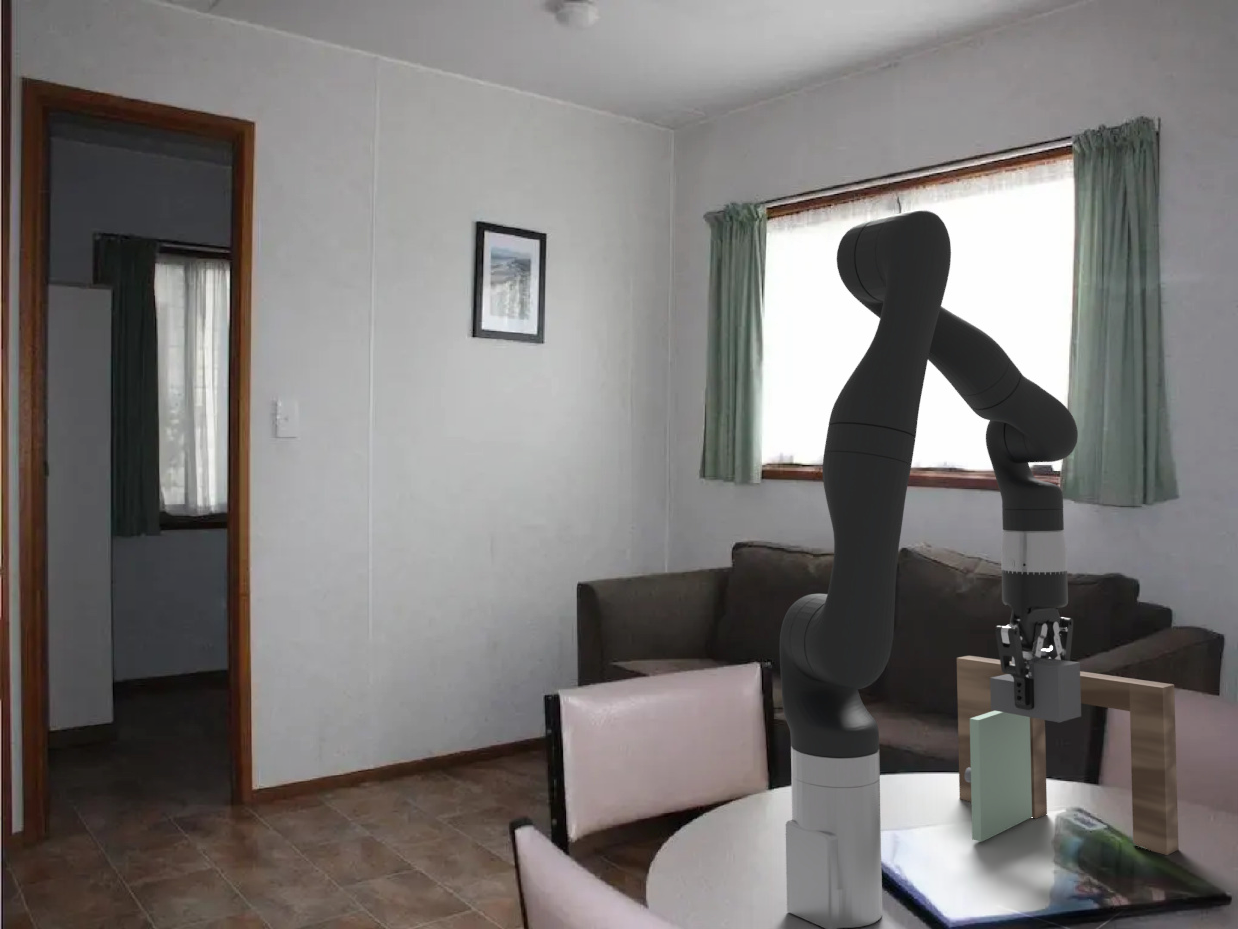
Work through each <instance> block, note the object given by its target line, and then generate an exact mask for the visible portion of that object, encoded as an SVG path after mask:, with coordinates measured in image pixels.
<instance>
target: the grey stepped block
mask: <svg viewBox="0 0 1238 929" xmlns="http://www.w3.org/2000/svg"><path fill="white" fill-rule="evenodd" d="M1026 663H1027V661H1024V664H1025V668H1026ZM1080 671H1081V663H1080V662H1079V661H1072V660H1070V661H1065V660H1058V659H1050V658H1047V657H1046V658H1042V659H1040V660H1039V661H1037V662H1036V664H1034V676H1033V678H1032V679H1034V708H1033V709H1031V710H1025V709H1019V708H1017V707H1016V706H1015V700H1014V678H1013V676H1011V675H1010V674H1005V675H1001V676H996V677H992V678H990V691H991V710H994V711H1000V712H1005V713H1010V714H1016V715H1021V716H1027V717H1032V718H1037V719H1043V720H1045V721H1050V722H1055V723H1063V722H1066V721H1069V720H1073V719H1076V718H1081V717H1082V703H1081V688H1080Z"/></svg>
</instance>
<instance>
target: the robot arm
mask: <svg viewBox="0 0 1238 929" xmlns="http://www.w3.org/2000/svg"><path fill="white" fill-rule="evenodd" d="M951 245H952V244H951V239H950V234H949V231H948V228H947V227H946V224H945V222H944V220H943V219H941V217H940V216H939V215H938V214H937V213H935V212H933V211H931V210H926V209H919V210H918V209H915V210H909V211H904V212H900V213H895V214H891V215H888V216H883V217H879V218H875V219H872V220H868V221H865V222H862V223H859V224H857V225H854V226H852V227H851V228H850V229H848V230H847V231H846V232H845V234H844V235H843V236H842V237H841V239H840V241H839V244H838V246H837V247H838V248H837V251H836V267H837V272H838V275H839V277H840V280H841V281H842V283H843V285H844V286H845V288H846V289H847V291H848V292H849V293H850V294H851V295H852V297H854V298H855V299H856V300H857V301H858V302H859V303H861V304H862V306H864V307H865V308H867V310H869V311H870V312H871V313H872V314H874V315H875V316H876V317H878V318H879V322H878V325H877V329H876V331H875V334H874V337H873V339H872V341H871V343H870V345H869V346H868V349H867V350H866V352H865V354H864V355H863V357H862V358H861V360H860V361H859V362H858V364H857V365H856V367H855V369H854V370H853V372H852V373H851V375H850V376H849V377H848V379H847V381H846V383H845V384H844V386H843V387H842V389H841V391H840V393H839V394H838V396H837V398H836V400H835V402H834V404H833V407H832V409H831V412H830V416H829V421H828V427H827V433H826V437H825V444H824V451H823V457H822V482H823V490H824V495H825V499H826V500H825V501H826V504H827V508H828V513H829V516H830V517H829V518H830V521H831V526H832V533H833V542H834V543H833V544H834V545H833V549H834V550H833V559H832V560H833V561H832V568H831V574H830V578H829V586H828V590H827V593H812V594H807V595H804V596H802V597H800V598H799V599H797V600H796V601H794V603H792V605H791V606H790V607H789V608H788V610H787V611H786V614H785V616H784V618H783V621H782V623H781V629H780V633H779V665H780V666H779V668H780V682H781V684H780V685H781V700H782V702H781V703H782V709H783V710H782V711H783V716H784V718H785V720H786V723H787V725H788V729H789V733H790V759H791V760H790V764H791V766H790V767H791V772H790V773H791V774H790V775H791V782H790V783H791V819H790V820H788V821H786V822H785V866H786V868H785V869H786V872H785V873H786V874H785V875H786V912H787V913H790V914H792V915H794V916H796V917H799V918H801V919H804V920H805V921H807V922H810V923H812V924H815V925H817V926H820V927H822V928H824V929H843V928H844V929H848V928H849V929H850V928H853V929H854V928H861V927H864V926H870V925H872V924H875V923H876V922H878V920H880V919H881V918H882V916H883V887H882V885H883V882H882V881H883V880H882V879H883V876H882V832H881V830H882V828H881V823H882V822H881V782H880V781H881V780H880V779H881V778H880V777H881V771H880V770H881V767H880V766H881V765H880V764H881V763H880V731H879V726H878V723H877V721H876V720H875V718H874V717H873V716H872V715H871V713H870V712H869V711H868V710H867V708H866V707H865V705H864V703H863V701H862V699H861V696H860V692H859V690H861V689H865V688H867V687H869V686H870V685H873V684H874V683H875V682H876V681H877V679H879V678H880V676H881V675H882V673H883V672H884V670H885V668H886V667H887V664H888V663H889V659H890V656H891V651H892V647H893V640H894V627H895V608H896V586H897V585H896V583H897V570H898V557H899V549H900V548H899V547H900V541H901V534H902V527H903V519H904V513H905V512H904V510H905V503H906V497H907V490H908V485H909V481H910V480H909V479H910V477H911V476H910V475H911V471H912V463H913V456H914V451H915V444H916V439H917V438H916V437H917V428H918V419H919V412H920V406H921V405H920V404H921V399H922V393H923V387H924V383H925V376H926V372H927V366H928V361H929V362H930V363H931V364H932V365H933V366H934V367H935V368H936V369H937V370H938V371H939V372H940V374H942V375H943V377H944V378H945V379H946V381H948V382H949V384H950V385H951V386H952V387H953V388H954V390H955V392H957V394H958V395H959V396H960V397H961V398H962V399H963V401H964V402H965V403H966V404H967V405H968V406H969V408H970V409H971V410H972V411H973V412H974V413H975V414H976V415H977V416H978V417H980V418H981V419H983V420H988V423H987V426H986V431H985V445H986V450H987V454H988V456H989V460H990V463H991V467H992V470H993V472H994V477H995V480H996V482H997V486H998V489H999V493H1000V496H1001V503H1002V504H1001V509H1002V510H1001V511H1002V512H1001V513H1002V518H1001V519H1002V537H1001V548H1000V549H1001V550H1000V558H1001V561H1000V562H1001V564H1000V566H1001V601H1002V603H1003V604H1004V605H1005V606H1008V607H1010V608H1011V615H1010V619H1009V624H1007V625H996V626H995V629H994V631H995V638H996V644H997V650H998V656H999V657H998V658H999V660H1000V663H1001V669H1002V672H1003V673H1008V674H1010V675H1011V676H1013V678H1014V700H1015V706H1016V707H1017V708H1019V709H1025V710H1031V709H1033V708H1034V679H1032V678H1033V676H1034V664H1036V662H1037V661H1039V660H1040V659H1042V658H1050V659H1058V660H1065V661H1071V652H1072V645H1073V644H1072V641H1073V631H1074V619H1073V618H1071V617H1064V616H1060V613H1059V608H1060V609H1061V608H1064V607H1066V606H1067V605H1068V603H1069V594H1068V593H1069V592H1068V591H1069V590H1068V587H1069V586H1068V552H1067V543H1066V538H1065V531H1064V530H1065V529H1064V527H1065V526H1064V525H1065V524H1064V521H1065V520H1064V497H1063V491H1062V489H1061V488H1060V487H1059V485H1057V484H1055V483H1053V482H1048V481H1045V480H1039V479H1038V478H1036V477H1035V476H1034V474H1033V472H1032V470H1031V468H1030V465H1029V464H1031V463H1053V462H1059V461H1062V460H1064V459H1066V458H1067V457H1069V456H1070V455H1071V454H1072V453H1073V452H1074V450H1075V448H1076V446H1077V444H1078V439H1079V438H1078V437H1079V436H1078V435H1079V433H1078V432H1079V431H1078V426H1077V424H1076V420H1075V418H1074V416H1073V415H1072V413H1071V411H1070V410H1069V409H1068V408H1067V406H1065V405H1064V403H1063V402H1062V401H1060V400H1059V399H1058V398H1057V397H1055V396H1054V395H1052V394H1051V393H1050V392H1048V391H1047V390H1045V389H1044V388H1042V387H1041V386H1040V385H1038V384H1037V383H1036V382H1034V381H1032V380H1030V378H1029V379H1028V378H1027V377H1026V376H1024V375H1023V374H1022V372H1021V371H1020V369H1019V368H1018V367H1017V366H1016V364H1015V363H1014V361H1013V360H1012V359H1011V358H1010V357H1009V355H1008V353H1006V351H1005V350H1004V349H1003V348H1002V346H1000V344H999V343H998V342H997V341H995V339H994V338H993V337H991V336H990V335H989V334H987V333H986V332H985V331H983V330H982V329H981V328H978V327H977V326H975V325H973V324H972V323H970V322H968V321H967V320H965V319H963V318H961V317H959V315H956V314H955V313H952V312H951V311H949V310H948V309H946V308H945V307H944V306H942V303H943V299H944V296H945V292H946V289H947V285H948V279H949V274H950V270H951V257H952V249H951ZM1010 657H1011V664H1010ZM1025 660H1026V662H1027V663H1026V668H1025V664H1024V662H1025Z"/></svg>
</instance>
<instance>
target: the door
mask: <svg viewBox="0 0 1238 929" xmlns="http://www.w3.org/2000/svg"><path fill="white" fill-rule="evenodd" d="M970 756H971V768H970V767H968V768H967V769H966V771H965V780H966V782H970V783H971V803H970V804H971V836H972V837H971V839H972V840H973V841H976V842H979V843H980V842H981V843H983V842H984V841H986V840H988V839H991V838H992V837H994V836H996V835H998V834H1000V833H1003V832H1004V831H1006V830H1008V829H1010V828H1013V827H1015V826H1016V825H1019V824H1021V823H1023V822H1024V821H1027V820H1029V819H1032V818H1031V817H1032V794H1031V749H1030V717H1027V716H1021V715H1016V714H1010V713H1005V712H1000V711H992V712H989V713H986V714H982V715H979V716H976V717H973V718H970Z"/></svg>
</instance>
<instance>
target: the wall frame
mask: <svg viewBox="0 0 1238 929" xmlns="http://www.w3.org/2000/svg"><path fill="white" fill-rule="evenodd" d="M1009 661H1010V660H1009ZM1011 662H1012V660H1011V661H1010V664H1011ZM1005 674H1008V673H1003V672H1002V669H1001V663H1000V659H996V658H991V657H990V658H989V657H983V656H982V657H981V656H975V655H964V656H959V657H956V684H957V689H956V690H957V691H956V692H957V693H956V694H957V731H958V733H957V734H958V736H957V738H958V781H959V783H958V784H959V786H958V787H959V799H960V800H962V801H965V802H966V801H967V802H971V783H970V782H966V780H965V771H966V769H967V768H968V767H970V768H971V756H970V718H973V717H976V716H979V715H982V714H986V713H989V712H992V711H994V710H991V691H990V678H992V677H996V676H1001V675H1005ZM1080 688H1081V704H1084V705H1089V706H1097V707H1102V708H1108V709H1113V710H1119V711H1125V712H1129V720H1130V721H1129V722H1130V723H1129V725H1130V762H1131V763H1130V764H1131V765H1130V766H1131V799H1132V801H1131V802H1132V803H1131V806H1132V842H1133V843H1135V844H1136V845H1138V846H1143V847H1145V848H1147V849H1149V850H1148V851H1150V850H1151V852H1153V853H1158V854H1162V855H1166V856H1169V855H1170V854H1172V853H1174V852H1176V851H1178V850H1179V820H1178V819H1179V818H1178V817H1179V816H1178V814H1179V813H1178V812H1179V811H1178V779H1177V776H1178V775H1177V741H1176V740H1177V738H1176V734H1177V733H1176V702H1175V698H1176V696H1175V695H1176V694H1175V684H1173V683H1165V682H1159V681H1153V680H1151V681H1150V680H1143V679H1137V678H1130V677H1125V676H1124V677H1122V676H1115V675H1109V674H1101V673H1095V672H1088V671H1083V670H1082V671H1081V670H1080ZM1046 747H1047V746H1046V720H1043V719H1037V718H1032V717H1030V749H1031V794H1032V817H1033V818H1037V819H1039V818H1041V817H1040V816H1042V817H1045V816H1047V815H1048V802H1047V801H1048V798H1047V793H1048V792H1047V761H1046V760H1047V759H1046V757H1047V754H1046V751H1047V750H1046V749H1047V748H1046ZM1046 814H1047V815H1046ZM1044 815H1045V816H1044ZM1038 817H1039V818H1038ZM1133 843H1132V844H1133Z"/></svg>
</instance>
